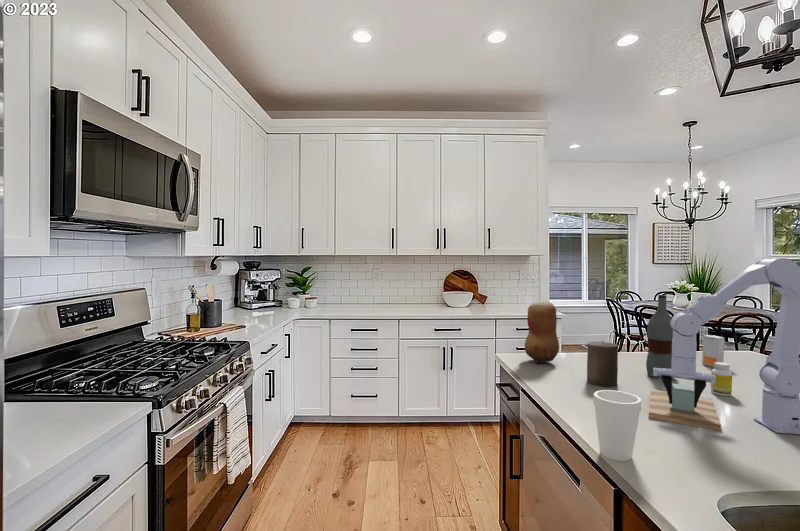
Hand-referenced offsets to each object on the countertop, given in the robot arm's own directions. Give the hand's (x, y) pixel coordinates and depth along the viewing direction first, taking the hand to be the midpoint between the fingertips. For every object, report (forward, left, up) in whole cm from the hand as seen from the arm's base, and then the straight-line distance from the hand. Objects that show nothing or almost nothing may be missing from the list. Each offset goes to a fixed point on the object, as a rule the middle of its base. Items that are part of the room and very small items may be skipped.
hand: (682, 404), depth 122 cm
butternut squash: (+54, +30, -3) cm, 61 cm away
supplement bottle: (+23, -21, -3) cm, 31 cm away
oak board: (+4, -1, -3) cm, 5 cm away
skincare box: (+62, -38, -3) cm, 73 cm away
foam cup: (-29, +27, -3) cm, 40 cm away
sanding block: (0, 0, -1) cm, 1 cm away
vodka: (+41, -10, -3) cm, 42 cm away
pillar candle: (+28, +14, -3) cm, 31 cm away
